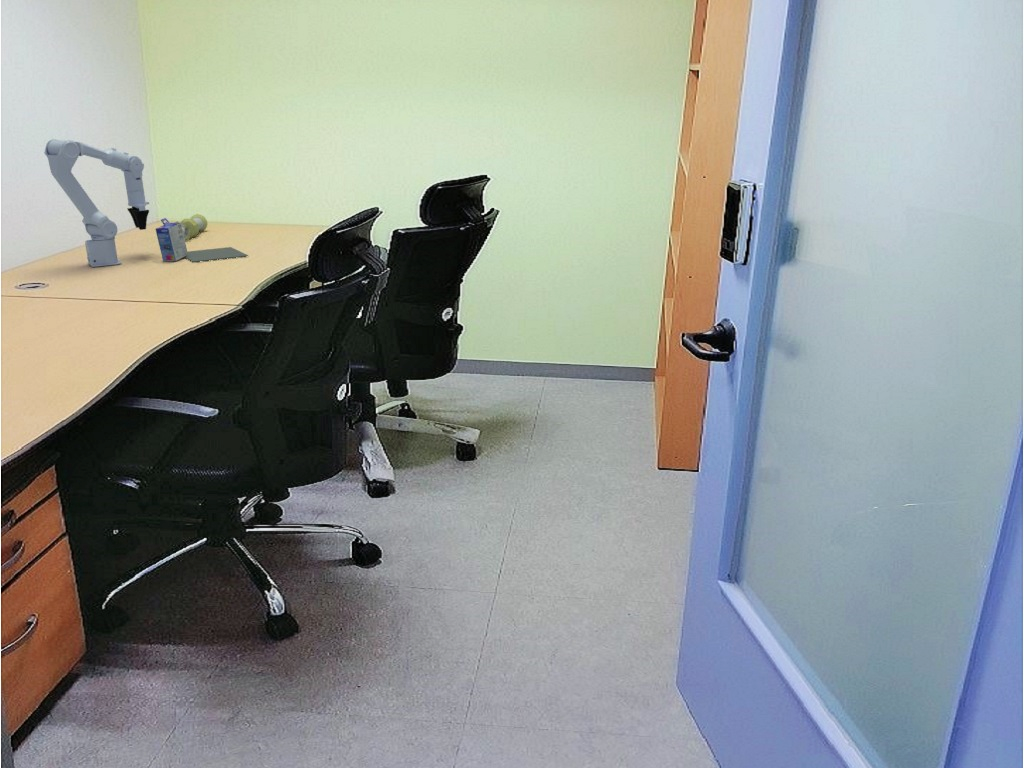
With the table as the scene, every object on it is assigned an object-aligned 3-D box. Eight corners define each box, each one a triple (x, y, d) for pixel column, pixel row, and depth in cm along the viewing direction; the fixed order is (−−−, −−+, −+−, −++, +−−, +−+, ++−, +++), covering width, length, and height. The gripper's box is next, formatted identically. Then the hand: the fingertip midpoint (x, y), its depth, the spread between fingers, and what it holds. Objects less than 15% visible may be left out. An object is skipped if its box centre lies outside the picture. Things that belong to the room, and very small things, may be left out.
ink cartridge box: (174, 255, 307) (166, 216, 301) (188, 255, 306) (181, 215, 301) (161, 261, 298) (153, 221, 292) (176, 261, 297) (168, 221, 292)
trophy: (189, 213, 357) (167, 223, 329) (207, 213, 358) (186, 223, 330) (191, 232, 360) (170, 244, 332) (209, 232, 361) (189, 243, 332)
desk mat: (193, 262, 296) (192, 261, 296) (177, 253, 312) (177, 252, 311) (248, 256, 307) (248, 255, 307) (230, 248, 323) (230, 247, 322)
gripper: (152, 191, 295) (157, 230, 299) (142, 187, 306) (147, 224, 310) (130, 193, 291) (136, 232, 295) (121, 188, 302) (127, 226, 307)
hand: (140, 228), depth 303 cm, fingers open, 5 cm apart
